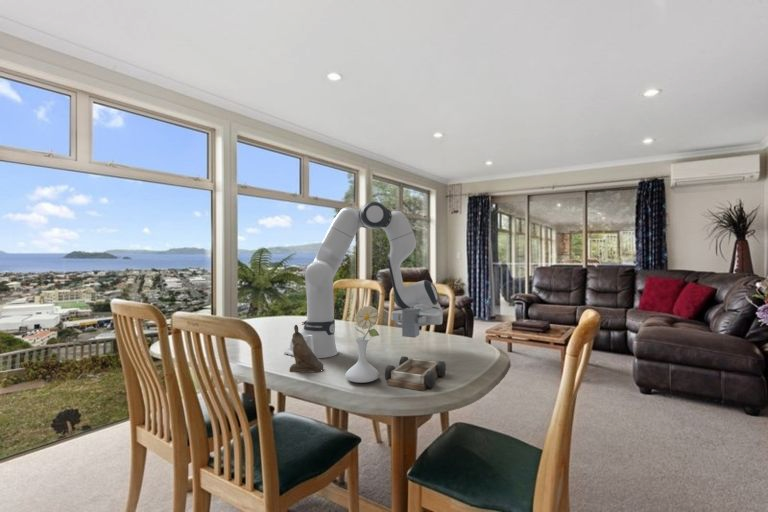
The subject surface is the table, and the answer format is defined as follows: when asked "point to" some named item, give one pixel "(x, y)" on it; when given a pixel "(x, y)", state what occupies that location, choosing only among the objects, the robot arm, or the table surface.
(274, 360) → the table surface
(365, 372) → the flower in vase
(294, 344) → the brown carved statuette
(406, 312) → the block
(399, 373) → the chassis
